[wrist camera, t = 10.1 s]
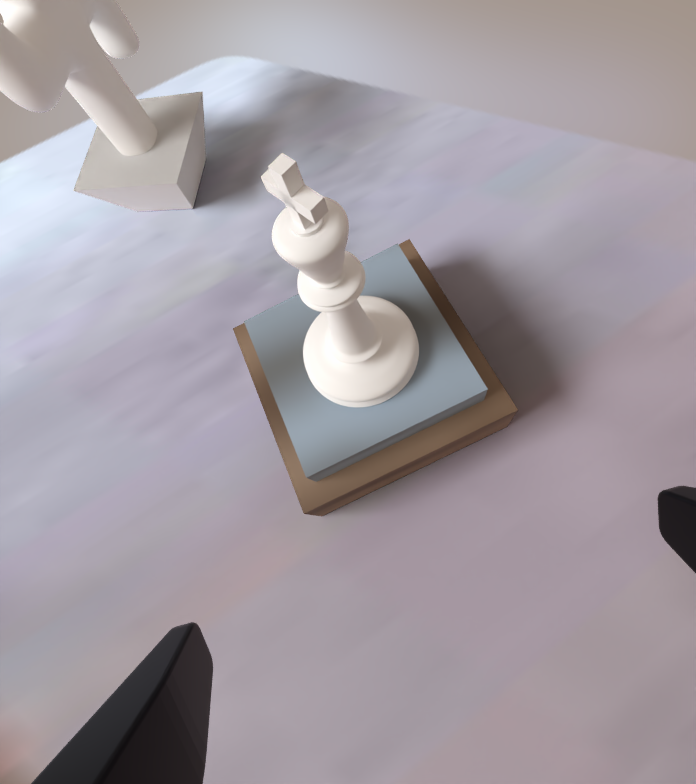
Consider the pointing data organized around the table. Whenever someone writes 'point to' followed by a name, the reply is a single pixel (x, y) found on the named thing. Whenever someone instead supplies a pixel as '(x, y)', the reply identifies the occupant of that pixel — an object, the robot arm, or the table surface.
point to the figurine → (104, 101)
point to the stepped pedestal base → (382, 421)
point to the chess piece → (338, 299)
